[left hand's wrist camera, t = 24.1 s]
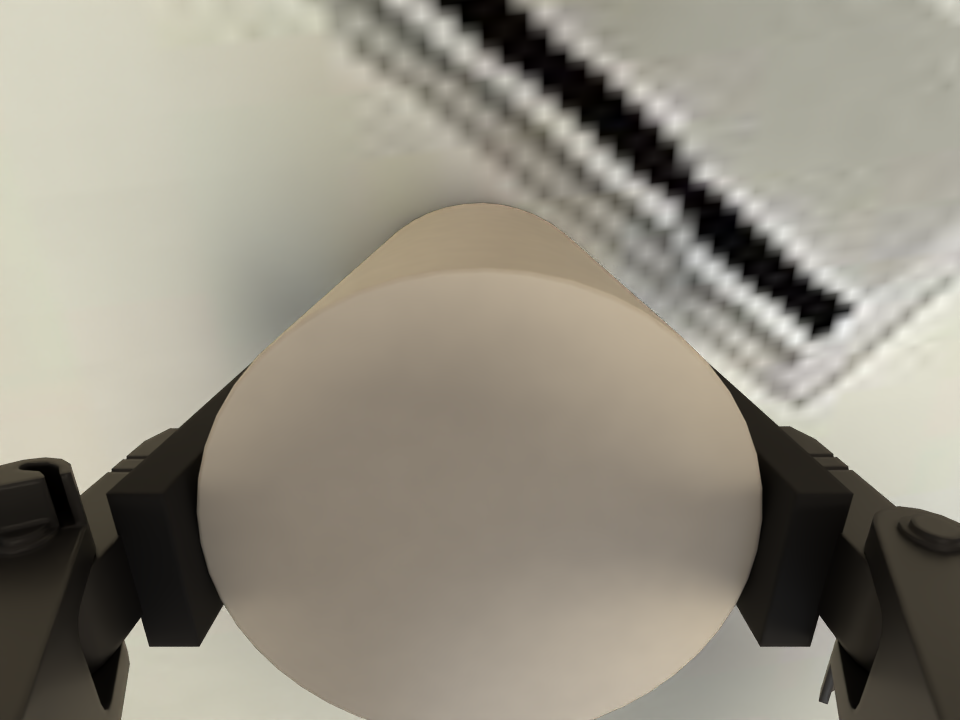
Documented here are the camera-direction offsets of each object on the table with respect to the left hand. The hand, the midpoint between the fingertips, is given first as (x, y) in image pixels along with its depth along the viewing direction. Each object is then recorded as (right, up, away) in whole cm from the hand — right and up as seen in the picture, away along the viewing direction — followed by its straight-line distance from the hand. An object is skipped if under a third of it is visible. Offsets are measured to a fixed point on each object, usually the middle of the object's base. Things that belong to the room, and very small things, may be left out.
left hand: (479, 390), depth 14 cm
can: (0, +2, +4) cm, 4 cm away
